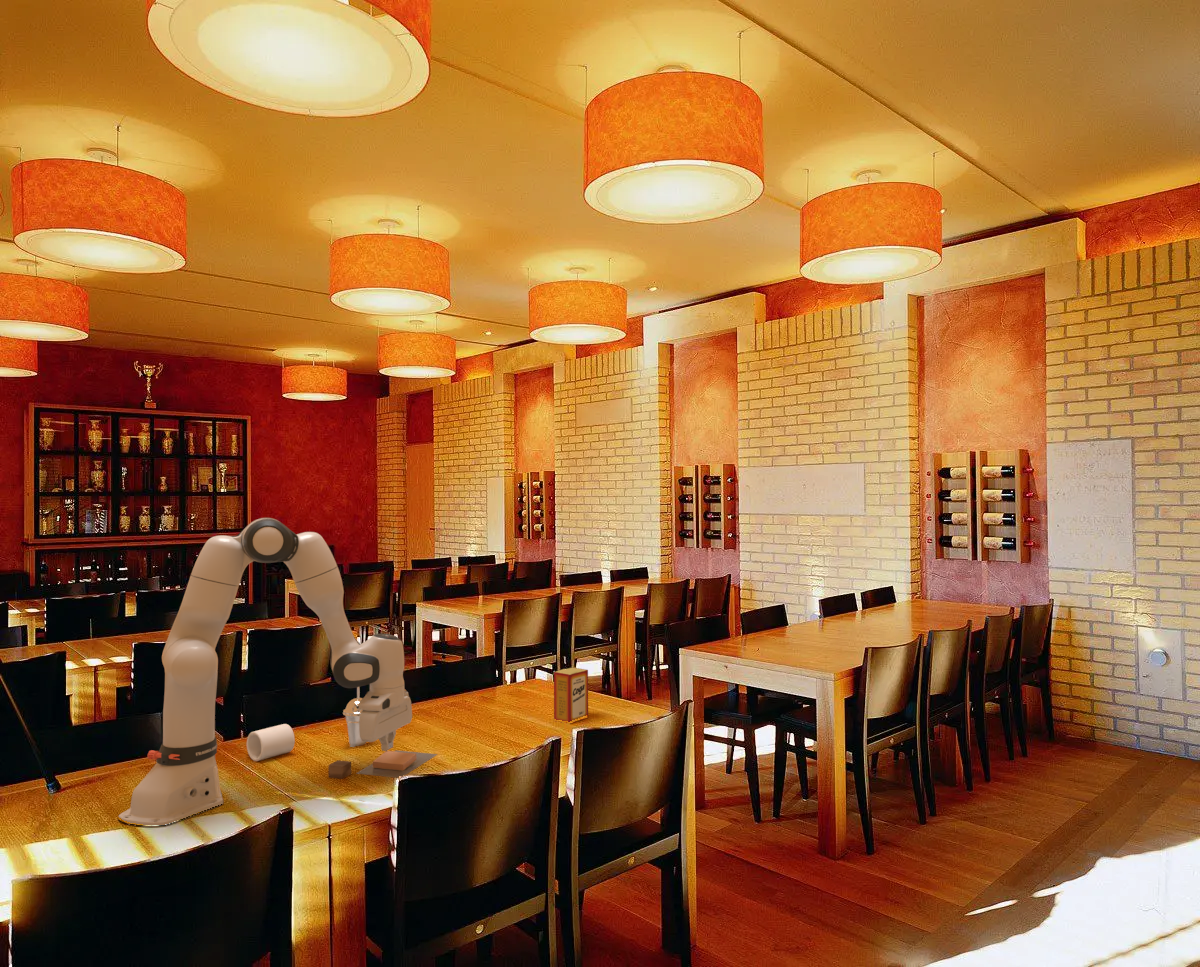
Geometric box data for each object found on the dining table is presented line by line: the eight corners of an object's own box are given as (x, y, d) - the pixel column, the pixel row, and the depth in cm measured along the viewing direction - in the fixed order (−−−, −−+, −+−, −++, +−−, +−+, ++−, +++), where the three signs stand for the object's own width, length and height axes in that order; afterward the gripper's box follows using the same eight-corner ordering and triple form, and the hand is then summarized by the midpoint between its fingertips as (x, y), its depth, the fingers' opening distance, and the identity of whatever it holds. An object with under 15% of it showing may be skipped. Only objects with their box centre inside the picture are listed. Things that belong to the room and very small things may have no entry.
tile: (403, 764, 212) (416, 753, 219) (372, 761, 215) (386, 750, 221) (403, 771, 212) (416, 759, 219) (372, 768, 215) (386, 757, 221)
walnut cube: (342, 782, 207) (342, 766, 207) (328, 780, 208) (328, 765, 208) (351, 777, 210) (351, 761, 210) (337, 775, 211) (337, 760, 212)
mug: (295, 754, 229) (295, 726, 230) (262, 763, 221) (262, 734, 221) (270, 747, 236) (270, 719, 237) (238, 755, 228) (238, 727, 229)
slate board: (400, 781, 207) (400, 777, 207) (355, 776, 211) (355, 773, 211) (437, 757, 226) (437, 754, 226) (396, 753, 230) (396, 750, 230)
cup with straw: (364, 751, 232) (364, 680, 232) (335, 749, 233) (335, 679, 234) (378, 742, 240) (378, 674, 240) (350, 740, 242) (350, 673, 242)
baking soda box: (572, 714, 270) (572, 666, 271) (588, 717, 266) (587, 668, 267) (554, 720, 263) (553, 671, 263) (569, 724, 259) (569, 673, 259)
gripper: (397, 686, 224) (397, 737, 224) (354, 704, 204) (354, 760, 204) (417, 687, 222) (418, 738, 222) (376, 706, 203) (376, 762, 202)
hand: (387, 749), depth 213 cm, fingers closed
